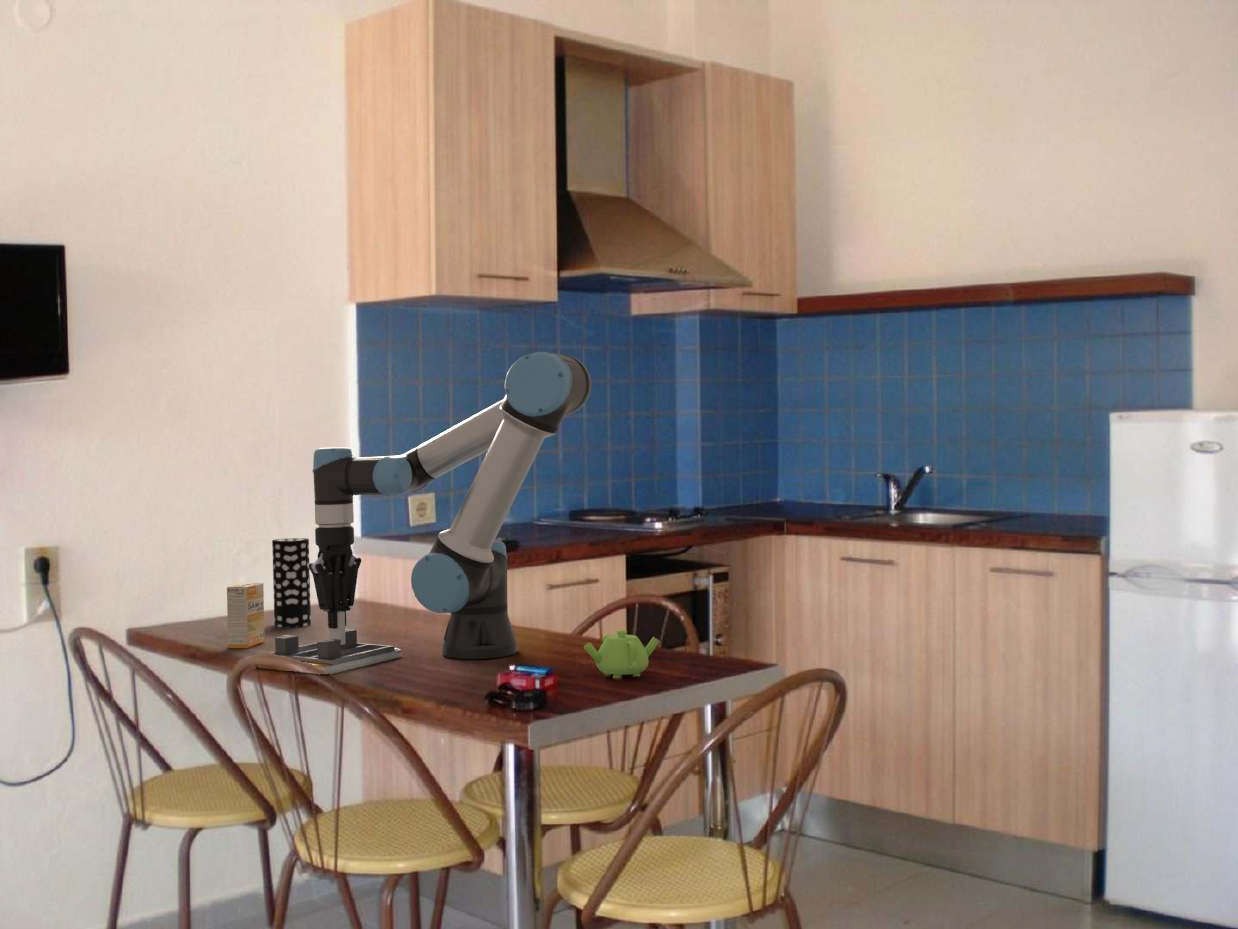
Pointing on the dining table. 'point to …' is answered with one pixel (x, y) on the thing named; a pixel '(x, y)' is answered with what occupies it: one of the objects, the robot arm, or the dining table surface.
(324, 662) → the panel
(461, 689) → the dining table surface
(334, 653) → the breaker
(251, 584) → the supplement box
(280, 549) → the spotted tube
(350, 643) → the breaker mid
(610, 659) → the teapot
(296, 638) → the breaker
